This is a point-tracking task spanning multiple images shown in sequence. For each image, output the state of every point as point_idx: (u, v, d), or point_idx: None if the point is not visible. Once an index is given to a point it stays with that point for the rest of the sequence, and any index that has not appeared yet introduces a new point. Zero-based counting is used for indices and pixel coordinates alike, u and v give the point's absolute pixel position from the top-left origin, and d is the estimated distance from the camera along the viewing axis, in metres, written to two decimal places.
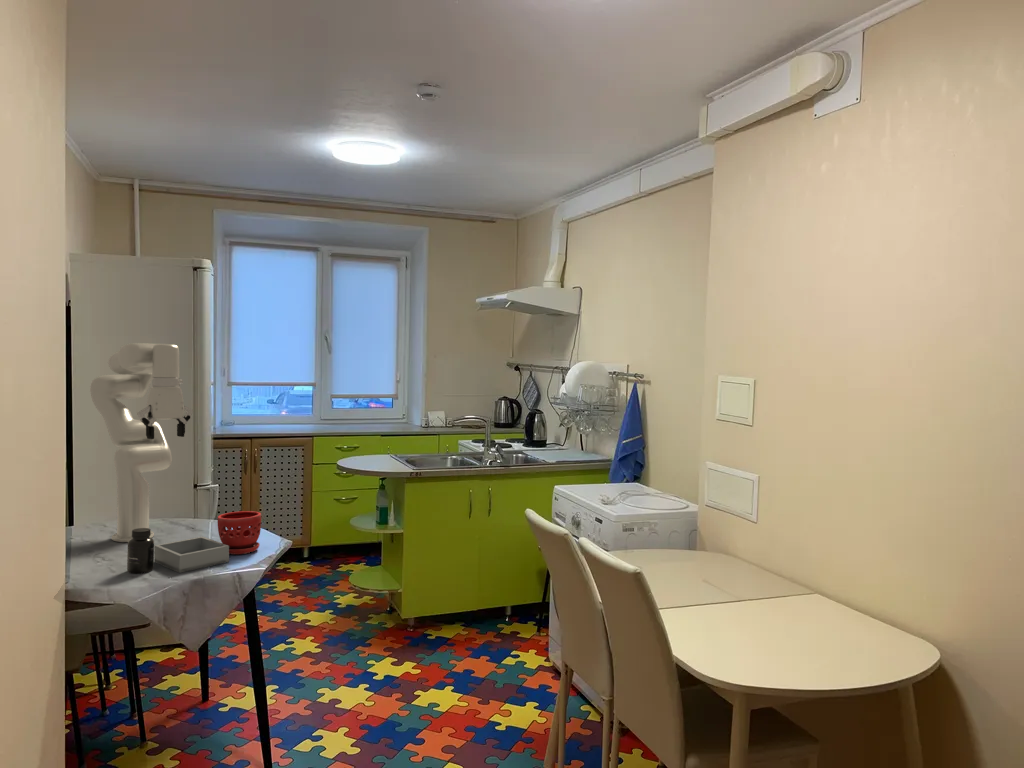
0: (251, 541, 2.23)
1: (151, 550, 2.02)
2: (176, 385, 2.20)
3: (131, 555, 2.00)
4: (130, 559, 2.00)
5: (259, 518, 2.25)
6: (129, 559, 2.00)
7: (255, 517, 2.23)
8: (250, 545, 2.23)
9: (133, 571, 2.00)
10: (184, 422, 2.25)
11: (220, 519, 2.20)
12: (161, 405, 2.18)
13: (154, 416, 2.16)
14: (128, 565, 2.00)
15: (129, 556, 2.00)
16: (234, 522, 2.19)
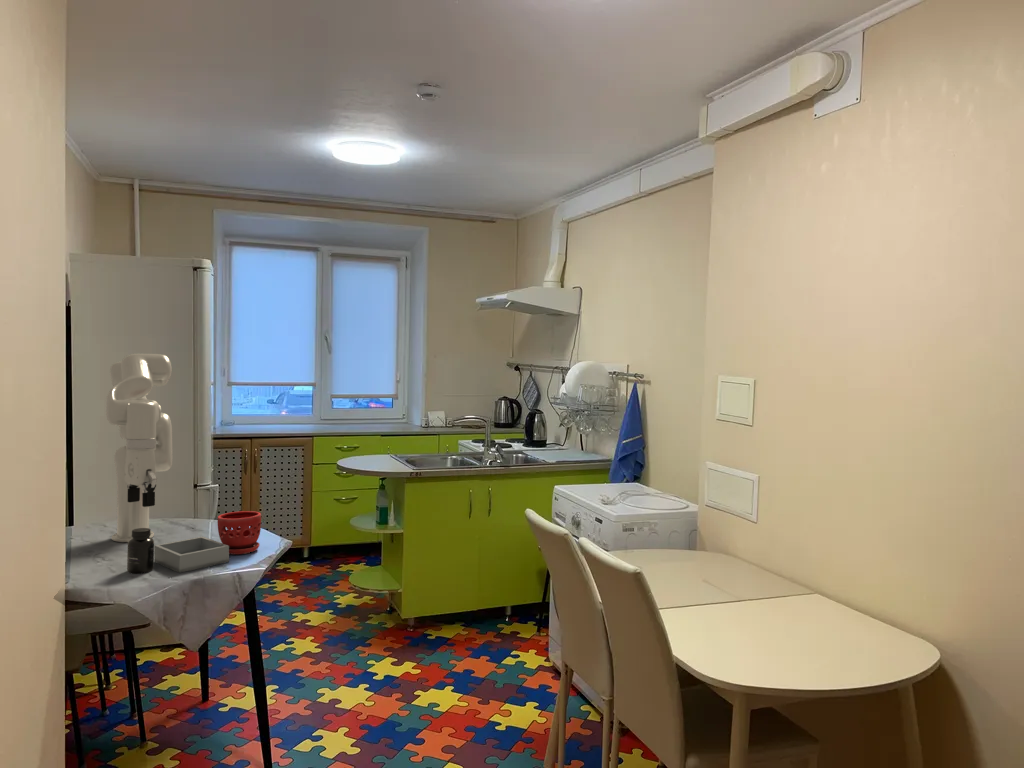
0: (251, 541, 2.23)
1: (151, 550, 2.02)
2: None
3: (131, 555, 2.00)
4: (130, 559, 2.00)
5: (259, 518, 2.25)
6: (129, 559, 2.00)
7: (255, 517, 2.23)
8: (250, 545, 2.23)
9: (133, 571, 2.00)
10: None
11: (220, 519, 2.20)
12: None
13: None
14: (128, 565, 2.00)
15: (129, 556, 2.00)
16: (234, 522, 2.19)
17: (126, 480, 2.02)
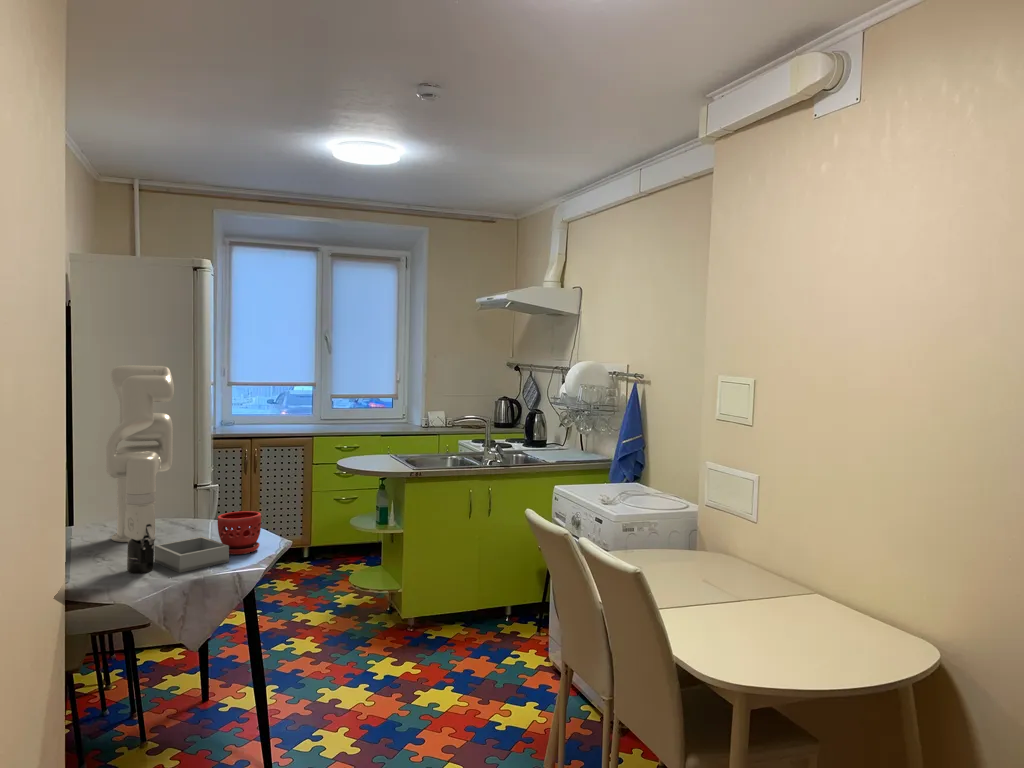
0: (251, 541, 2.23)
1: None
2: None
3: (131, 555, 2.00)
4: (130, 559, 2.00)
5: (259, 518, 2.25)
6: (129, 559, 2.00)
7: (255, 517, 2.23)
8: (250, 545, 2.23)
9: (133, 571, 2.00)
10: None
11: (220, 519, 2.20)
12: None
13: (154, 535, 2.01)
14: (128, 565, 2.00)
15: (129, 556, 2.00)
16: (234, 522, 2.19)
17: (126, 534, 2.02)
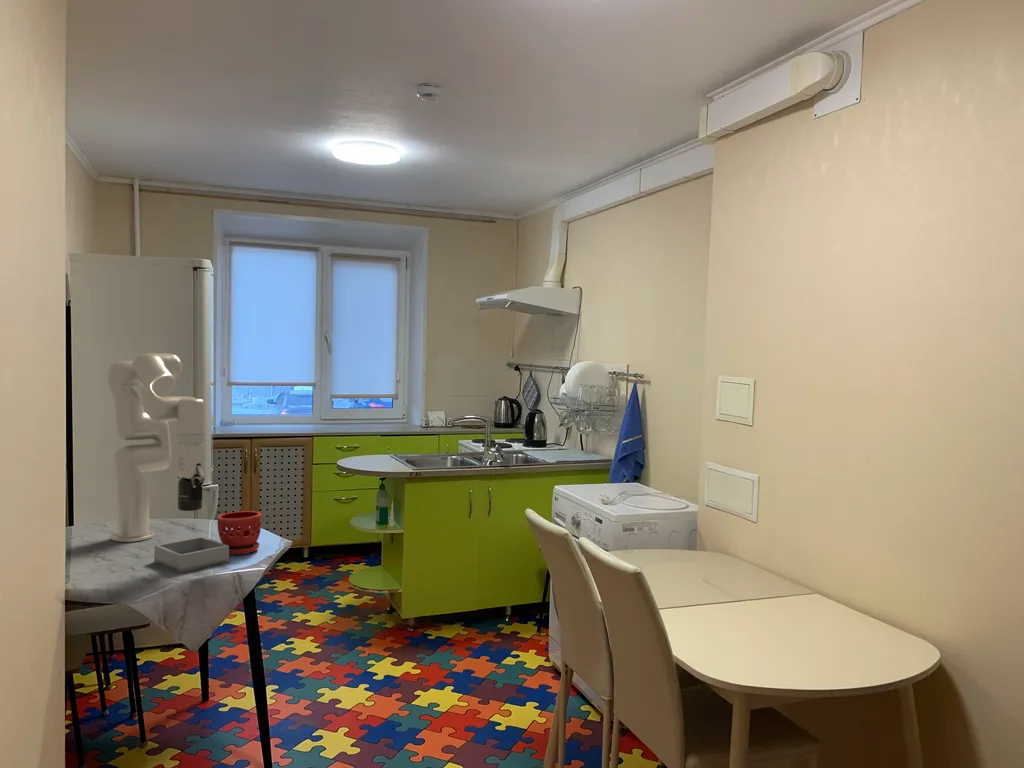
0: (251, 541, 2.23)
1: None
2: None
3: (182, 493, 2.08)
4: (180, 497, 2.09)
5: (259, 518, 2.25)
6: (180, 497, 2.09)
7: (255, 517, 2.23)
8: (250, 545, 2.23)
9: (183, 508, 2.08)
10: None
11: (220, 519, 2.20)
12: None
13: None
14: (179, 502, 2.09)
15: (180, 494, 2.09)
16: (234, 522, 2.19)
17: (176, 473, 2.11)
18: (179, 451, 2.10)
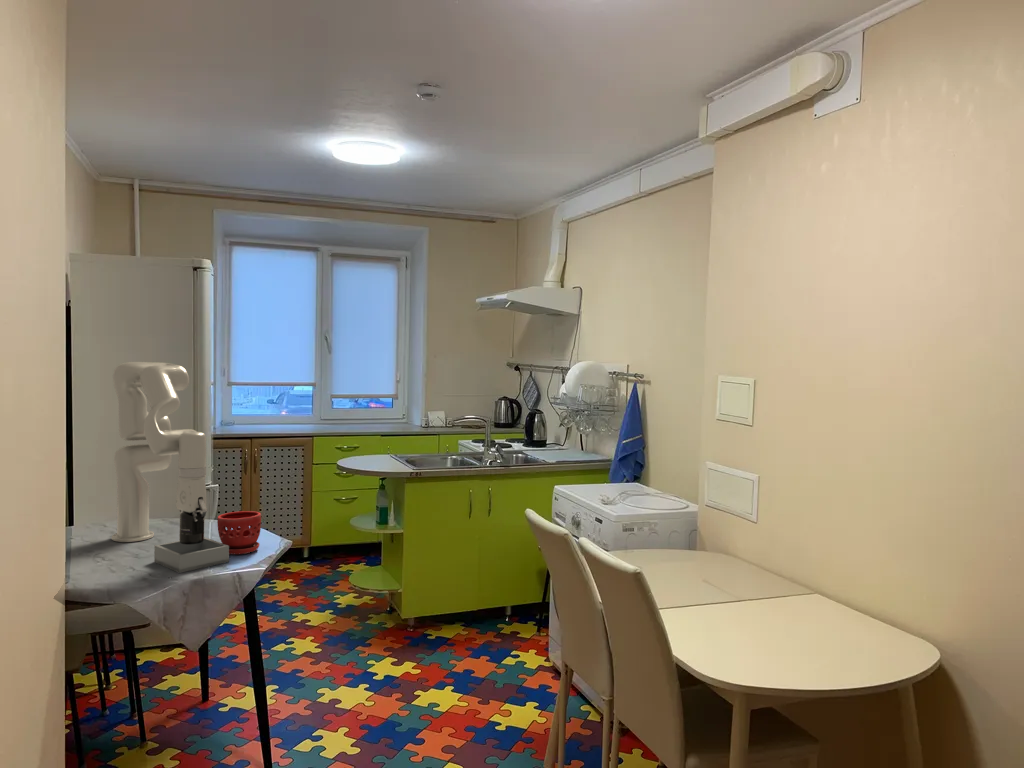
0: (251, 541, 2.23)
1: None
2: None
3: (183, 526, 2.09)
4: (182, 530, 2.09)
5: (259, 518, 2.25)
6: (182, 530, 2.09)
7: (255, 517, 2.23)
8: (250, 545, 2.23)
9: (185, 542, 2.09)
10: None
11: (220, 519, 2.20)
12: None
13: None
14: (180, 536, 2.10)
15: (181, 527, 2.09)
16: (234, 522, 2.19)
17: (178, 507, 2.12)
18: (181, 485, 2.11)
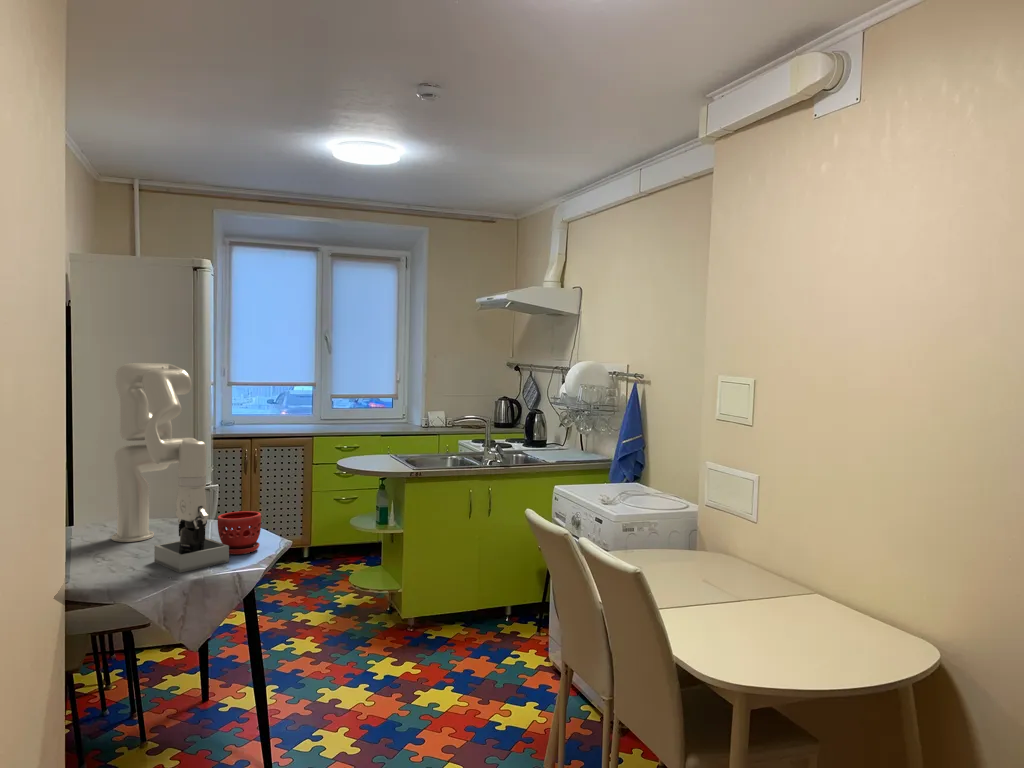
0: (251, 541, 2.23)
1: None
2: None
3: (183, 542, 2.10)
4: (182, 546, 2.10)
5: (259, 518, 2.25)
6: (181, 546, 2.10)
7: (255, 517, 2.23)
8: (250, 545, 2.23)
9: None
10: None
11: (220, 519, 2.20)
12: None
13: None
14: (180, 551, 2.10)
15: (181, 543, 2.10)
16: (234, 522, 2.19)
17: (178, 515, 2.12)
18: (180, 494, 2.11)
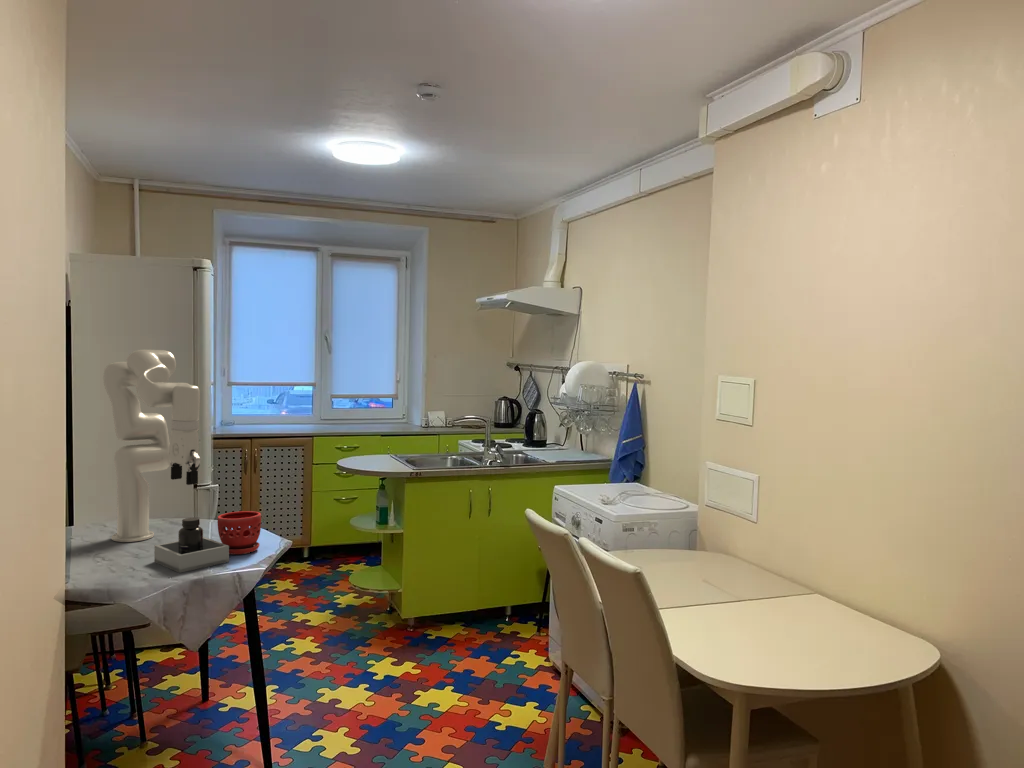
0: (251, 541, 2.23)
1: (200, 539, 2.12)
2: None
3: (182, 543, 2.09)
4: (181, 547, 2.09)
5: (259, 518, 2.25)
6: (180, 547, 2.10)
7: (255, 517, 2.23)
8: (250, 545, 2.23)
9: None
10: None
11: (220, 519, 2.20)
12: None
13: None
14: (179, 553, 2.10)
15: (180, 544, 2.10)
16: (234, 522, 2.19)
17: (170, 459, 2.13)
18: (173, 437, 2.12)
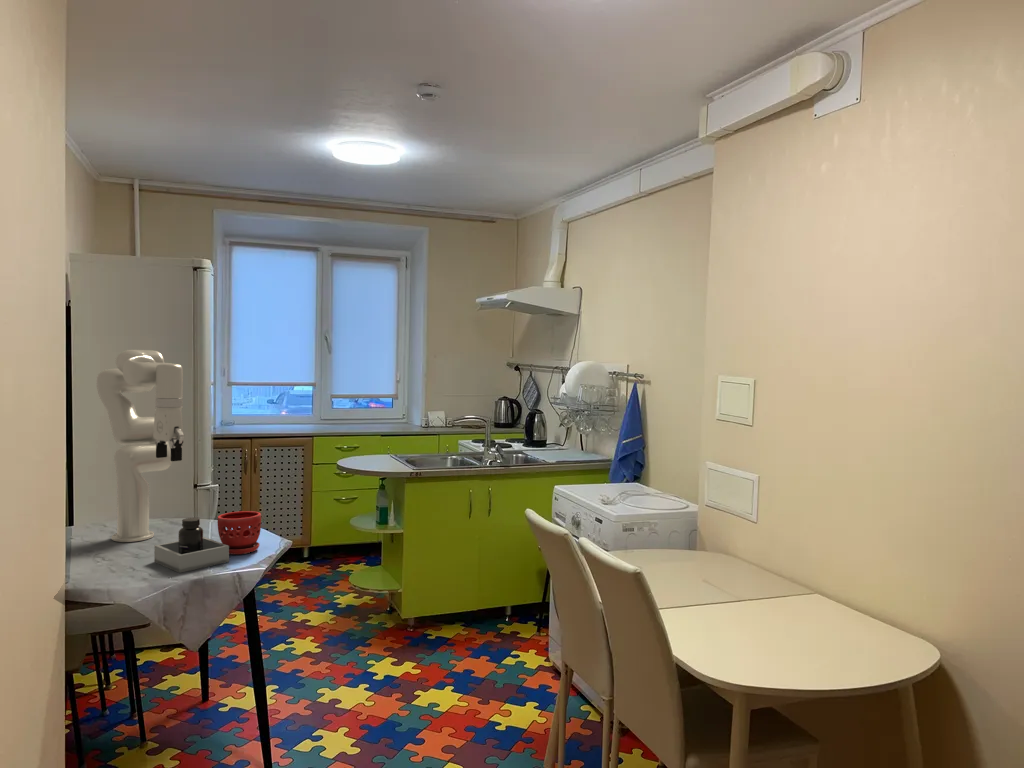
0: (251, 541, 2.23)
1: (200, 539, 2.11)
2: None
3: (182, 543, 2.09)
4: (181, 547, 2.09)
5: (259, 518, 2.25)
6: (180, 547, 2.10)
7: (255, 517, 2.23)
8: (250, 545, 2.23)
9: None
10: None
11: (220, 519, 2.20)
12: None
13: None
14: (179, 553, 2.10)
15: (180, 544, 2.10)
16: (234, 522, 2.19)
17: (155, 437, 2.16)
18: (157, 415, 2.15)
